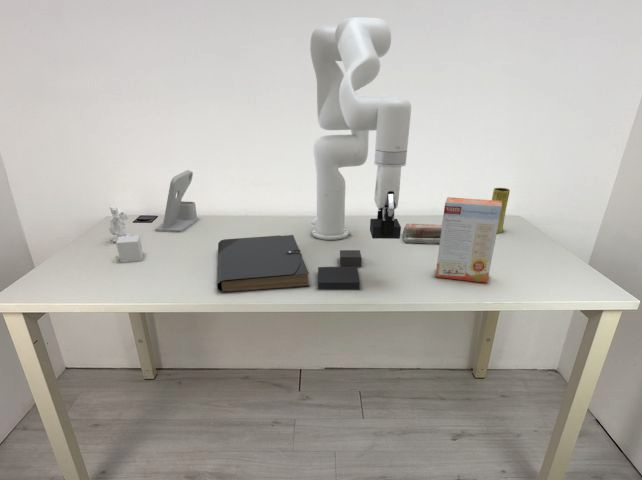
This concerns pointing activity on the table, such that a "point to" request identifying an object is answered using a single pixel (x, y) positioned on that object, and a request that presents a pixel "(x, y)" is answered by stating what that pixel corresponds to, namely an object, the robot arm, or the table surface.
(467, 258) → the cracker box
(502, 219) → the vase
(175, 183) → the phone holder
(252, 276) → the dark grey book
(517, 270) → the table surface
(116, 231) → the white figurine
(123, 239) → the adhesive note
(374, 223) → the charcoal pad
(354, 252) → the grey pad
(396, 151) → the robot arm
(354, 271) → the base pad
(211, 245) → the table surface
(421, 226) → the packaged product
